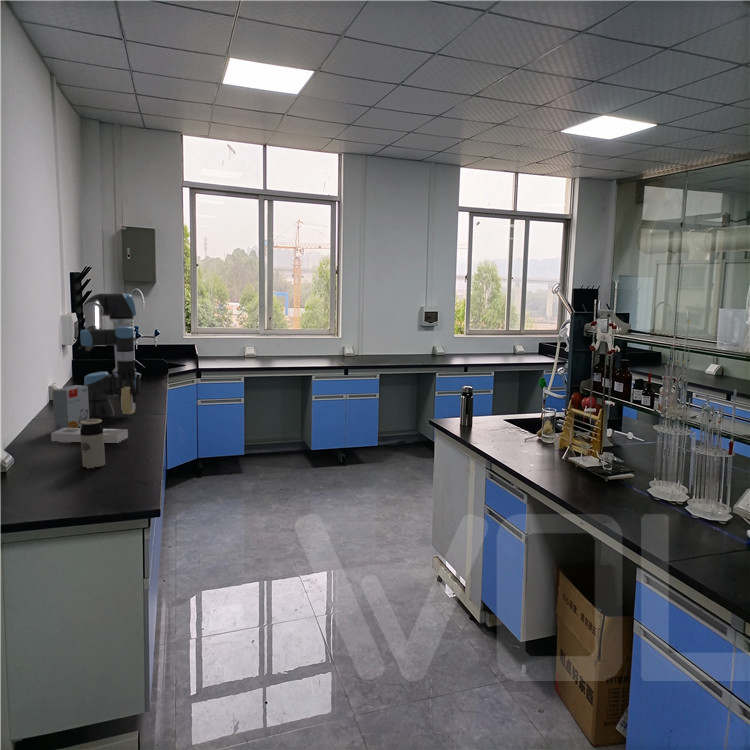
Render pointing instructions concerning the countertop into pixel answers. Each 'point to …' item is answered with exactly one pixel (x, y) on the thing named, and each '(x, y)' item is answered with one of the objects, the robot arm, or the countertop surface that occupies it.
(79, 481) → the countertop surface
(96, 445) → the travel mug
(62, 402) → the hard drive box
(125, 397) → the wooden block
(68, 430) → the white compartment tray
